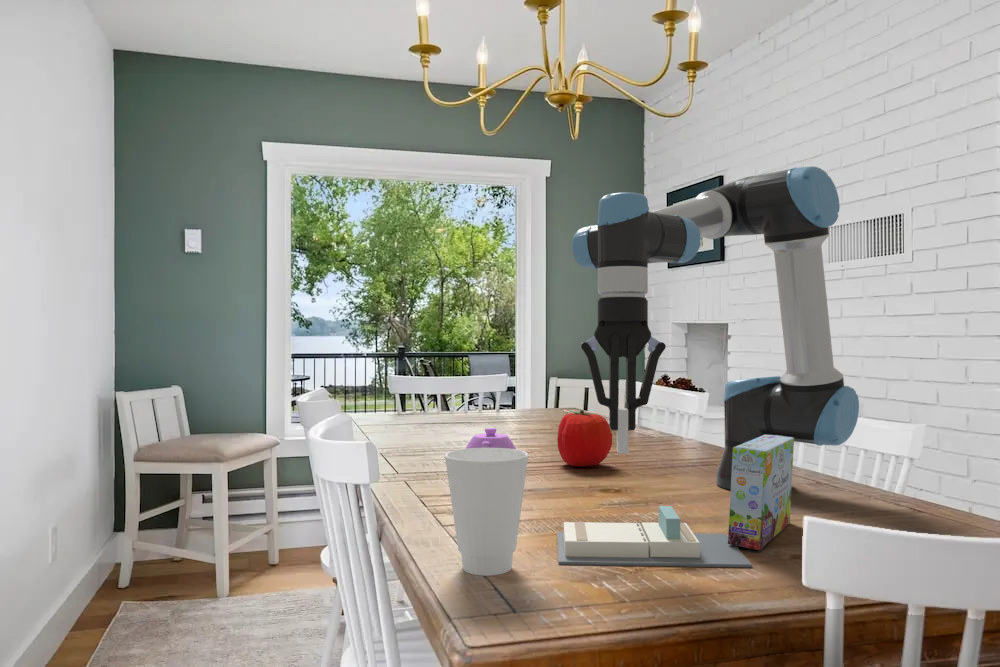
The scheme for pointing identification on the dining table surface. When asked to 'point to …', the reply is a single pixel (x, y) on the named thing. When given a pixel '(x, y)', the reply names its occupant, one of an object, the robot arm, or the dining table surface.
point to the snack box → (760, 490)
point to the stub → (670, 536)
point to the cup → (486, 505)
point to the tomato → (584, 439)
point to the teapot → (490, 440)
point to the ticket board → (637, 547)
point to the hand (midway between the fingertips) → (622, 451)
